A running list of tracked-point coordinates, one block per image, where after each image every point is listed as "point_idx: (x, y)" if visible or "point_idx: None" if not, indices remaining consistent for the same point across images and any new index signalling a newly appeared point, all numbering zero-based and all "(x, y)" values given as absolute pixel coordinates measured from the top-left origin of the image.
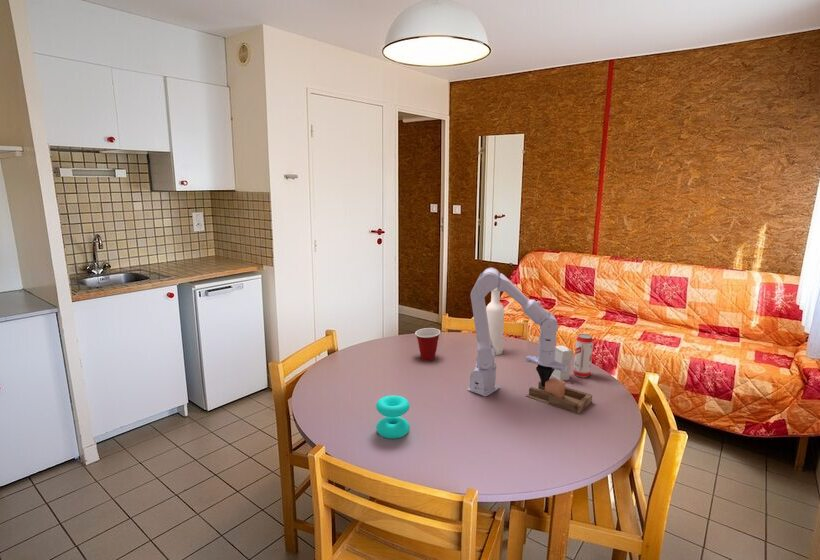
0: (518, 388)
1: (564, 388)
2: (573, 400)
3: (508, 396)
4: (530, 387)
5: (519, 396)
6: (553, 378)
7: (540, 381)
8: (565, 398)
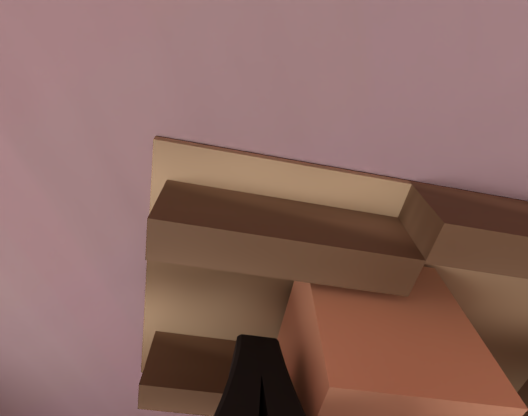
0: (11, 280)
1: (472, 339)
2: (512, 283)
3: (47, 410)
4: (139, 394)
5: (106, 382)
6: (357, 395)
7: (155, 233)
8: (443, 280)
